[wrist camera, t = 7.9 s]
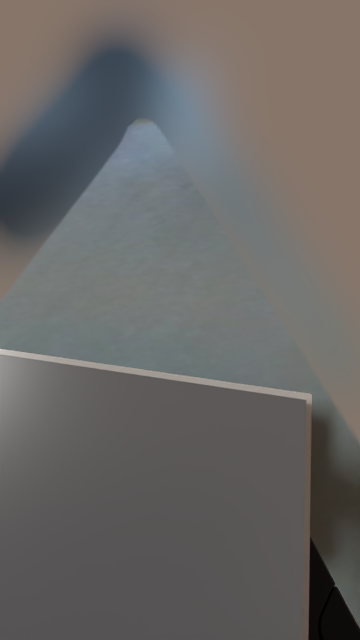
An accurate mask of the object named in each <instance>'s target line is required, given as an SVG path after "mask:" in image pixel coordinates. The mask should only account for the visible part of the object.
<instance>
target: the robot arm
mask: <svg viewBox="0 0 360 640" xmlns="http://www.w3.org/2000/svg"><path fill="white" fill-rule="evenodd" d="M334 586H335V582H334V580H333V578H332V577H331V575H330V573H329V571H328V569H327V567H326V565H325V563H324V561H323V560H322V558H321V556H320V554H319V552H318V550H317V548H316V546H315V544H314V543H313V541H312V539H311V537H310V560H309V634H308V640H360V628H359V626H358V625H357V623H356V621H355V619H354V618H353V616H352V614H351V612H350V610H349V609H348V607H347V605H346V603H345V601H344V599H343V597H342V595H341V593H340V591H339V589H338V588H337V587H334Z"/></svg>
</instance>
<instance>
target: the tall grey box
mask: <svg viewBox="0 0 360 640" xmlns="http://www.w3.org/2000/svg"><path fill="white" fill-rule="evenodd" d="M311 411H312V394H307V393H300V392H293V391H286V390H279V389H273V388H266V387H259V386H252V385H245V384H238V383H231V382H224V381H217V380H211V379H204V378H197V377H190V376H183V375H176V374H169V373H162V372H156V371H149V370H142V369H135V368H128V367H121V366H114V365H107V364H100V363H94V362H87V361H80V360H73V359H66V358H59V357H52V356H45V355H39V354H32V353H25V352H18V351H11V350H4V349H0V640H308V634H309V560H310V485H311Z"/></svg>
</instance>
